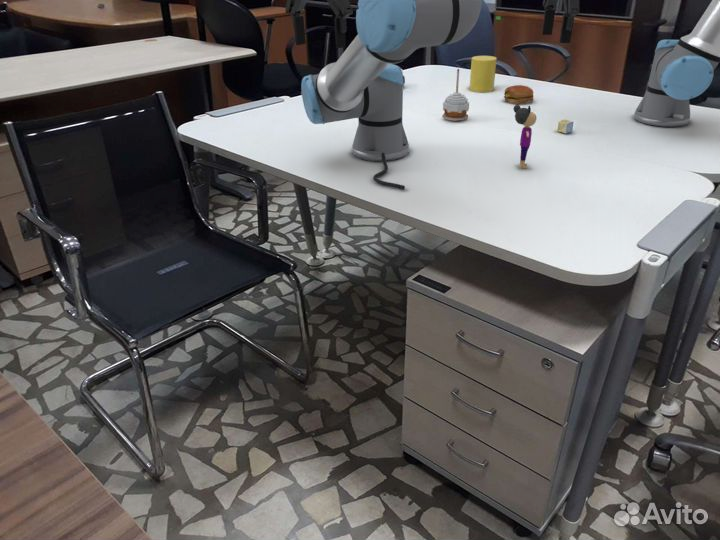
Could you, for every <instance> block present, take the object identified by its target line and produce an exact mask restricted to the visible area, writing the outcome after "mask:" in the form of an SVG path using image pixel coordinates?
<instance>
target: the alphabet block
mask: <svg viewBox="0 0 720 540" xmlns="http://www.w3.org/2000/svg"><path fill="white" fill-rule="evenodd" d="M573 129H574V121H573V120H568V119H561V120H559V121H558V122H557V132H559V133H563V134H568V133H569V134H570V133H571V132H573Z"/></svg>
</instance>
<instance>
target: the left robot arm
mask: <svg viewBox="0 0 720 540" xmlns="http://www.w3.org/2000/svg"><path fill="white" fill-rule="evenodd" d="M482 1H483V0H358V2H357V6H358V8H357V9H356V11H355V12H356V13H355V24H356V25H355V26H356V32H357V35H356V36H355V37H354V39H353V40H352V41H351V42H350V44H349V45H348V47H347V46H346V33H347V31H348V30H347V29H348V27H347V18H348V16H351V15H353V14H354V10H353V7H352V5H351V2H350V0H326V2H327V4H328V6H329V7H330V8H331V10H332V12H333V13H334V15H335V16H334V18H333V23H334V38H335V39H334V40H335V41H334V43H335V49H342V48H346V49H345V50H344V51H343V53H342V54H341V55H340V56H339V58H338V59H337V60H336V61H335V62H331V63H329V64H327V65H325V66H324V67H323V68H321V70H320V72H319V73H318V74H308V75H305V76H304V77H302V80H301V83H300V86H301V87H300V89H301V97H302V103H303V104H302V105H303V107H304V108H303V109H304V111H305V114H306V117H307V118H308V120H309V122H310V123H312V124H313V125H325V124H329V123H335V122H341V121H347V120H353V119H358V125H357V128H356V131H355V135H354V138H353V141H352V144H351V147H352V155H353V156H354V157H356V158H358V159H360V160H364V161H371V162H382V164H383V169H382V170H381V171H379V172H377V173H376V174H374V175H373V178H372V179H373V181H374V182H375V183H377V184H379V185H380V186H385V187H389V188H394V189H399V190H405V189H406V185H404V184H400V183H396V182H395V183H394V182H389V181H384V180H381V179H379V177H381V176H383V175H385V174H387V172H388V169H389V165H388V163H387V162H389V161H394V160H398V159H399V160H400V159H401V158H404V157H406V156H407V155H409V151H410V150H409V149H410V145H409V141H408V137H407V134H406V132H405V128H404V125H403V124H404V123H403V108H404V107H403V106H404V102H403V101H404V86H405V83H403V76H404V74H403V73H404V72H403V69H402V68H401V67H400V66H398V65H396V64H399V63H401V62H403V61H405V60H406V59H408V57H410V56H411V55H412V54H413V53H414V52H415V51H416V50H419V49H421V48H429V47H438V46H447V45H450V44H454V43H457V42H459V41H460V40H462V39H463V38H465V37H466V36H468V34H470V32H471V31H472V30H473V29H474V27H475V25H476V24H477V21H478V20H479V17H480V13H481V10H482V4H483V3H482ZM307 2H308V0H286V4H285V9H284V11H285V14H288V15H290V16H291V19H292V21H291V22H292V29H293V31H294V38H295V45H296V46H303V45H306V44H307V43H306V32H305V30H306V29H305V19H304V15H303V10H304V8H305V6H306V4H307Z"/></svg>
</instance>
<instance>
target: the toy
mask: <svg viewBox="0 0 720 540" xmlns="http://www.w3.org/2000/svg"><path fill="white" fill-rule="evenodd" d="M512 110H513V113H514V119H515V121H516V123H517V124H519V125H522V126H523V128H522V129H521V133H520V139H519V140H520V141H519V146H520V156H519V158H520V160H519V167H520V169H528V163H526V160H527V155H528V151H529V149H530V147H531V142H532V134H533V130H532V126H534V125H535V124H536V123H537V115H536V113H534V112H532V108H531V105H528V106H527V107H521V106H520V104H516V105H515V104H514V106H513V109H512Z"/></svg>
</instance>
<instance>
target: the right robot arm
mask: <svg viewBox="0 0 720 540" xmlns="http://www.w3.org/2000/svg"><path fill="white" fill-rule="evenodd" d="M558 1H559V0H543V1H542V7H543V8H544V15H543V24H542V29H541V35H542V36H552V35H553V29H554V24H555V23H554V22H555V15H556V10H557V3H558ZM562 1H563V2H562V3H563V8H564V13H563V14H562V23H561V28H560V35H559V41H558V42H559V44H570V43H571V40H572V33H573V27H574V22H575V17H576V16H578V15H580V0H562ZM719 63H720V0H711V1H710V3H709V5H708V6H707V7H706V9H705V11H704V13H703V14H702V15H701V17H700V18H699V20H698V22H697V23H696V25H695V26H694V28H693V29H692V31H691V32H690V33H689V34H686V35H684V36H681V37H680V38H679V39H661V40H660V41H658V43H657V45H656V47H655V50H654V56H653V60H652V64H651V65H652V66H651V69H650V70H651V71H650V73H649V78H648V82H647V85H646V86H647V87H646V91H645V93H644V95H643V97H642V98H641V100H640V102H639V104H638V105H637V107H636V108H635V111H634V114H633V119H634V120H635V121H637V122H639V123H642V124H645V125H648V126H649V125H650V126H654V127H662V128H663V127H664V128H675V127H684V126H687V125H689V123H690V121H691V120H690V119H691V106H690V104H691V103H690V100H691V99H694V98H696V97H699V96H701V95H702V94H703V93H704V92H706V90H707V89H708V88H709V87H710V85H711V84H712V81H713V79H714V71H715V69H716V68H717V67H718V65H719Z"/></svg>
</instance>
